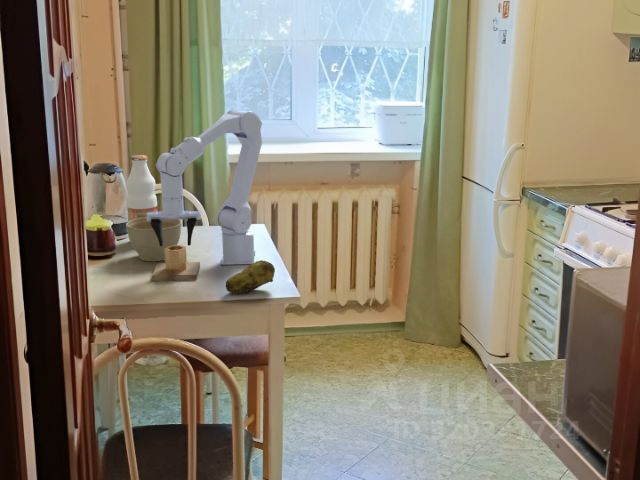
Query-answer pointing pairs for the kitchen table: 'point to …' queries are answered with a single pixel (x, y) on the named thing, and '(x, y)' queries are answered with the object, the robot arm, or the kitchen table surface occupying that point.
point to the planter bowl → (152, 238)
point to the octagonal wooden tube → (175, 258)
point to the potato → (251, 277)
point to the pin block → (188, 274)
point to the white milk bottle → (140, 189)
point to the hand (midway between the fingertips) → (175, 245)
